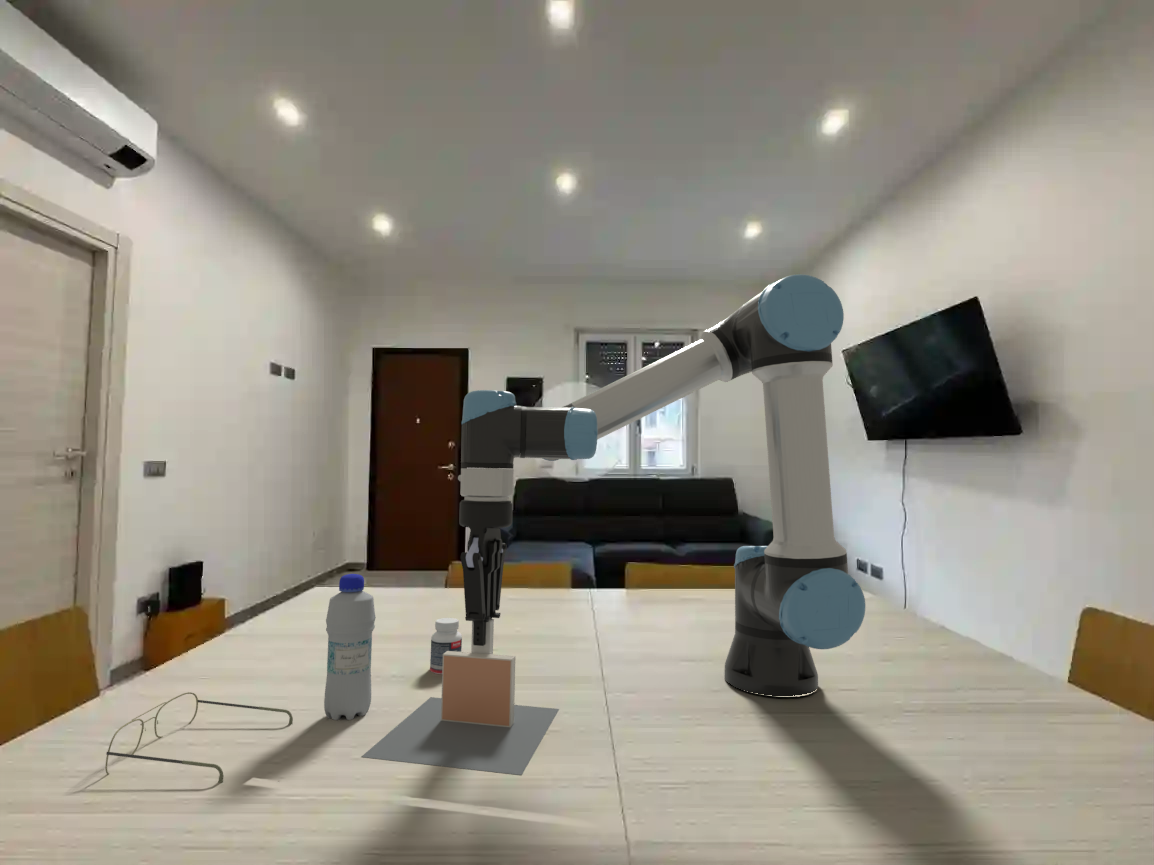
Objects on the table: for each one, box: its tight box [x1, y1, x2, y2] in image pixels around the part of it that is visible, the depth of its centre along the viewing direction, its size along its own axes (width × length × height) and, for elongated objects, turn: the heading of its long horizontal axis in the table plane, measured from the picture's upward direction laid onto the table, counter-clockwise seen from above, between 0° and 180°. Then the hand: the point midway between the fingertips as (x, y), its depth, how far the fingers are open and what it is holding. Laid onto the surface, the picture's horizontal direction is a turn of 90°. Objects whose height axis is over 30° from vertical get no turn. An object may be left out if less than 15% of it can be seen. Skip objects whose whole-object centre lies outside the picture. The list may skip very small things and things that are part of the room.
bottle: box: [323, 573, 376, 721], centre depth 89 cm, size 7×7×20 cm
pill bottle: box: [429, 617, 463, 675], centre depth 108 cm, size 5×5×9 cm
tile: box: [441, 651, 516, 727], centre depth 86 cm, size 10×2×9 cm, turn 79°
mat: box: [360, 696, 560, 776], centre depth 83 cm, size 20×20×1 cm
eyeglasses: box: [104, 691, 294, 784], centre depth 78 cm, size 16×15×5 cm
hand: (481, 666), depth 88 cm, fingers closed
